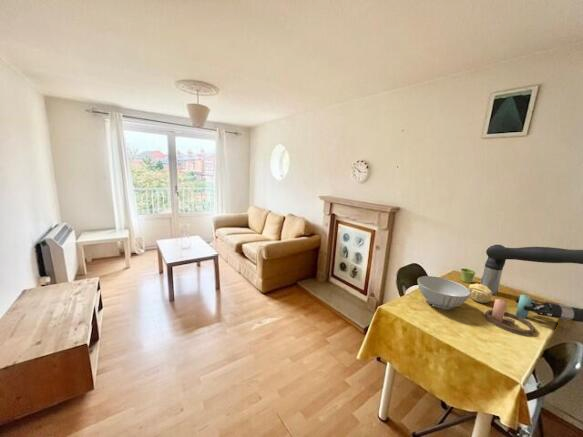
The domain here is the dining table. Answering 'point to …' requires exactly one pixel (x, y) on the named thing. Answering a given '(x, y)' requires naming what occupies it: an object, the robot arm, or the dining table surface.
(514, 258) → the robot arm
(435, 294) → the decorative bowl
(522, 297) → the teal cylinder
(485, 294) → the sculpture
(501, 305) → the pink cylinder
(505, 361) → the dining table surface
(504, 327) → the brown ring
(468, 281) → the plant pot
